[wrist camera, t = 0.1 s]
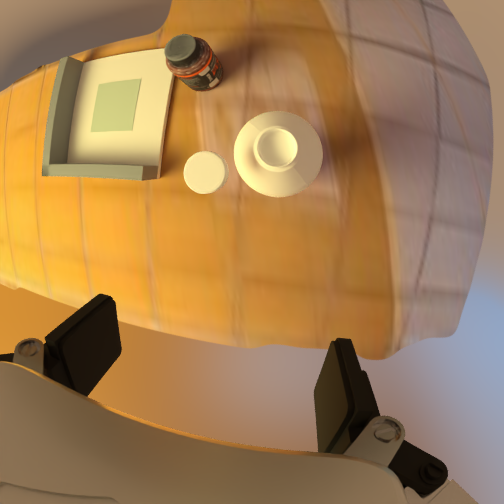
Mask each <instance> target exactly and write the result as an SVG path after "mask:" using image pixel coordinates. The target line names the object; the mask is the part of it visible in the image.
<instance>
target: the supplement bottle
mask: <svg viewBox="0 0 504 504" xmlns="http://www.w3.org/2000/svg"><path fill="white" fill-rule="evenodd" d="M164 53H165V56H166V65H167V67H168V69H169V70H170V71H171V72H172V73H173V74H174V75H176V76H177V77H178V78H179V79H180V80H182V81H183V82H184V83H185V84H186V85H188V86H189V87H190V88H191V89H193V90H195V91H208V90H210V89H212V88H214V87H215V86H217V85H218V83H219V82H220V81H221V79H222V76H223V68H222V66H221V64H220V62H219V61H218V59H217V57H216V56H215V54H214V53H213V51H212V49H211V48H210V46H209V45H208V44H207V42H206V41H204V40H203V39H201V38H197V37H192V36H191V35H187V34H182V35H178V36H176V37H174V38H172V39H171V40H170V41H169V42H168V43H167V44H166V46H165V49H164Z"/></svg>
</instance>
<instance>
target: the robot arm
mask: <svg viewBox="0 0 504 504" xmlns="http://www.w3.org/2000/svg"><path fill="white" fill-rule="evenodd" d="M45 340H46V343H45V344H43V343H42V341H40V340H39V339H36V338H28V339H24V340H22V341H21V342H19V343H18V344H17V346H16V347H15V351H14V353H10V354H1V355H0V504H478V503H477V502H476V501H475V500H474V499H473V498H472V497H471V496H470V495H469V494H468V493H466V491H465V490H464V489H462V488H461V487H460V486H459V485H458V484H457V483H456V482H455V481H454V480H451V481H449V480H448V479H447V477H448V470H447V467H446V465H445V464H444V463H443V462H442V461H441V460H439V459H437V458H435V457H434V456H432V455H430V454H428V453H426V452H424V451H422V450H421V449H419V448H417V447H415V446H414V445H412V444H410V443H409V442H407V441H405V440H404V437H405V429H404V427H403V425H402V424H401V423H400V422H399V421H398V420H396V419H395V418H392V417H390V416H380V413H379V410H378V406H377V403H376V400H375V397H374V394H373V391H372V388H371V385H370V381H369V379H368V376H367V373H366V372H365V371H364V370H363V371H362V370H361V367H360V365H359V362H358V359H357V355H356V352H355V349H354V346H353V344H352V341H351V339H345V338H337V339H336V340H335V341H331V343H330V346H329V349H328V352H327V355H326V358H325V361H324V364H323V367H322V370H321V372H320V375H319V378H318V380H317V383H316V386H315V389H314V400H315V412H316V426H317V439H318V452H308V451H307V452H306V451H293V450H282V449H274V448H266V447H258V446H250V445H244V444H238V443H232V442H226V441H222V440H216V439H212V438H207V437H203V436H199V435H195V434H191V433H186V432H183V431H179V430H176V429H171V428H168V427H165V426H162V425H159V424H155V423H152V422H149V421H146V420H143V419H140V418H138V417H135V416H132V415H129V414H126V413H124V412H121V411H119V410H116V409H114V408H111V407H109V406H106V405H104V404H102V403H99V402H97V401H95V400H93V399H90V398H88V397H87V396H88V395H89V394H90V392H91V391H92V390H93V389H94V387H95V386H96V385H97V383H98V382H99V381H100V380H101V378H102V377H103V376H104V375H105V373H106V372H107V371H108V369H109V368H110V367H111V366H112V364H113V363H114V362H115V361H116V359H117V358H118V357H119V356H120V354H121V350H122V347H121V341H120V334H119V327H118V320H117V311H116V303H115V301H114V300H113V298H112V297H111V296H108V295H104V294H98V295H97V296H96V297H94V298H93V299H92V300H90V301H89V302H88V303H87V304H85V305H84V306H83V307H81V308H80V309H79V310H78V311H76V312H75V313H74V314H73V315H72V316H70V317H69V318H68V319H66V320H65V321H64V322H63V323H61V324H60V325H59V326H58V327H57V328H55V329H54V330H53V331H52V332H50V333H49V334H48V335H47V336H46V337H45Z"/></svg>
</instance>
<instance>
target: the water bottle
mask: <svg viewBox="0 0 504 504" xmlns="http://www.w3.org/2000/svg"><path fill="white" fill-rule="evenodd" d="M234 160H235V164H236V168H237V170H238V172H239V174H240V176H241V177H242V179H243V180H244V181H245V182H246V183H247V184H248V185H249V186H250V187H251V188H252V189H254V190H255V191H257V192H259V193H261V194H264V195H267V196H272V197H287V196H291V195H294V194H297V193H299V192H301V191H303V190H304V189H306V188H307V187H309V186H310V185H311V183H312V182H313V181H314V180H315V178H316V177H317V175H318V173H319V171H320V168H321V165H322V160H323V150H322V144H321V141H320V138H319V136H318V134H317V133H316V131H315V130H314V128H313V127H312V126H311V125H310V124H309V123H308V122H307V121H306V120H304V119H303V118H301V117H300V116H298V115H295V114H293V113H290V112H285V111H271V112H266V113H263V114H260V115H258V116H256V117H254V118H253V119H251V120H250V121H248V122H247V123H246V124H245V126H244V127H243V128H242V130H241V131H240V133H239V135H238V137H237V139H236V142H235V147H234ZM228 174H229V170H228V165H227V163H226V161H225V159H224V158H223V157H222V156H220V155H219V154H217V153H214V152H210V151H201V152H198V153H195V154H194V155H192V156H191V157H190V158H189V159H188V161H187V162H186V165H185V168H184V179H185V182H186V183H187V185H188V186H189V188H190V189H192V190H193V191H195V192H197V193H200V194H208V193H213V192H215V191H217V190H219V189H220V188H222V187H223V186H224V184H225V183H226V181H227V179H228Z"/></svg>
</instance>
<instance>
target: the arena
mask: <svg viewBox="0 0 504 504" xmlns="http://www.w3.org/2000/svg"><path fill="white" fill-rule="evenodd" d="M164 49H165V48H163V49H154V50H146V51H139V52H132V53H126V54H120V55H115V56H110V57H105V58H101V59H96V60H92V61H88V62H81V61H79V60H76V59H74V58H71V57H69V56H67V57H64V58H62V59H61V60H60V63H59V67H58V70H57V74H56V78H55V83H54V87H53V91H52V96H51V101H50V107H49V112H48V119H47V125H46V133H45V141H44V151H43V164H42V176H67V177H93V178H112V179H127V180H141V181H142V180H151V179H160V170H161V161H162V152H163V144H164V137H165V130H166V123H167V116H168V110H169V104H170V98H171V93H172V88H173V82H174V77H175V75H174V74H173V73H172V72H171V71H170V70H169V69H168V67H167V65H166V56H165V53H164Z"/></svg>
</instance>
